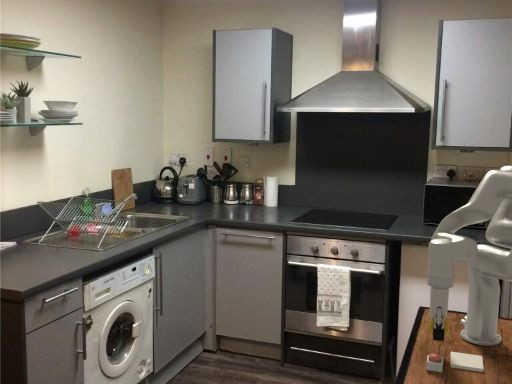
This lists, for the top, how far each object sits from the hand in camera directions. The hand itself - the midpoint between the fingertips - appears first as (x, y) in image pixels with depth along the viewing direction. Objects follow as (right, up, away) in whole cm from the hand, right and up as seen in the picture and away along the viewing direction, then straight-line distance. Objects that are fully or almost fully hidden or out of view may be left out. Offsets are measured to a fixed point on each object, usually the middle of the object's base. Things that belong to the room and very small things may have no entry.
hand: (438, 335), depth 173 cm
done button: (-4, -5, -8) cm, 11 cm away
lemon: (0, -2, 0) cm, 2 cm away
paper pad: (+7, -7, -5) cm, 11 cm away
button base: (-4, -8, -8) cm, 12 cm away
